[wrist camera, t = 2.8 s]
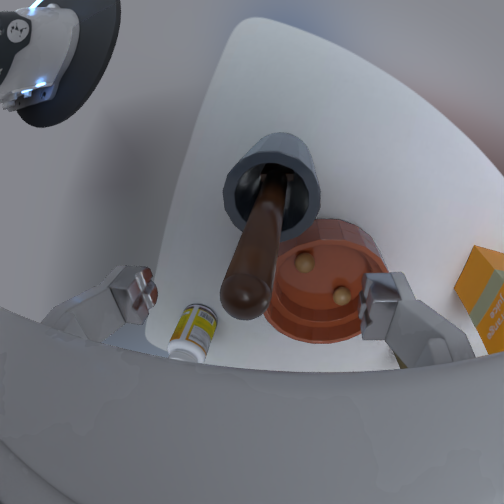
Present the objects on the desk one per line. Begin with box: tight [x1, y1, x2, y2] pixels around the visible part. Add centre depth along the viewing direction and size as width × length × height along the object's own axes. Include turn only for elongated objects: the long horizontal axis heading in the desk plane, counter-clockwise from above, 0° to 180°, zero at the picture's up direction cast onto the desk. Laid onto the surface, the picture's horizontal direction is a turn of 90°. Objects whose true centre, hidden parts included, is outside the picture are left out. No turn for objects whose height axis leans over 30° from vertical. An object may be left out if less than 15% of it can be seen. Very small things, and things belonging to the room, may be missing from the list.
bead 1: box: [295, 253, 315, 273], centre depth 31 cm, size 2×2×2 cm
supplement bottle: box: [167, 305, 217, 363], centre depth 37 cm, size 6×6×10 cm
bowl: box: [263, 219, 389, 344], centre depth 31 cm, size 15×15×6 cm
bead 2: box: [333, 287, 351, 305], centre depth 33 cm, size 2×2×2 cm
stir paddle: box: [220, 163, 294, 320], centre depth 18 cm, size 3×2×22 cm, turn 95°
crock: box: [223, 132, 321, 242], centre depth 22 cm, size 6×6×12 cm
